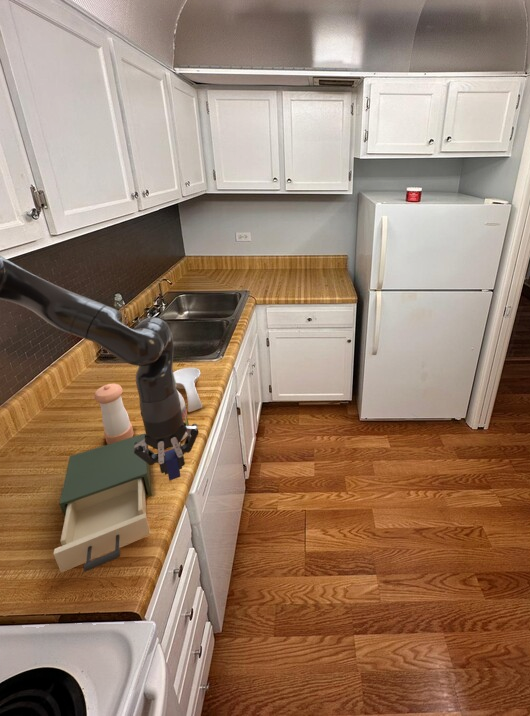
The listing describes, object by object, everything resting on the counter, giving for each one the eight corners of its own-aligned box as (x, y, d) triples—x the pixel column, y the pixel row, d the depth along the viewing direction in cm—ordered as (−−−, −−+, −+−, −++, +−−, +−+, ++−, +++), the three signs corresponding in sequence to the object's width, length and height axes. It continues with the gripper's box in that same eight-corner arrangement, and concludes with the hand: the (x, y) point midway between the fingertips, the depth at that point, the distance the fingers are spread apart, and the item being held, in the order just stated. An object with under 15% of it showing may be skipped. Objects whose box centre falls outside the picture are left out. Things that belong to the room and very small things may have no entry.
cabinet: (151, 495, 84) (146, 473, 81) (68, 527, 76) (59, 504, 74) (149, 453, 96) (145, 433, 93) (77, 477, 88) (69, 455, 86)
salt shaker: (120, 426, 106) (107, 376, 99) (139, 431, 104) (127, 380, 97) (100, 443, 99) (85, 390, 92) (119, 449, 97) (105, 396, 90)
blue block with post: (169, 480, 75) (165, 461, 73) (167, 459, 81) (163, 440, 79) (180, 476, 76) (176, 457, 74) (177, 455, 82) (173, 437, 80)
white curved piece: (166, 380, 128) (163, 364, 126) (197, 371, 134) (195, 356, 132) (178, 417, 110) (175, 399, 107) (213, 405, 116) (211, 388, 113)
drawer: (151, 555, 70) (146, 537, 68) (56, 598, 63) (48, 579, 61) (148, 486, 85) (144, 469, 83) (71, 514, 78) (65, 497, 76)
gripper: (193, 389, 76) (201, 446, 83) (124, 408, 70) (139, 468, 77) (198, 409, 70) (207, 470, 76) (123, 431, 64) (140, 495, 70)
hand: (173, 468), depth 76 cm, fingers closed on blue block with post, 2 cm apart
